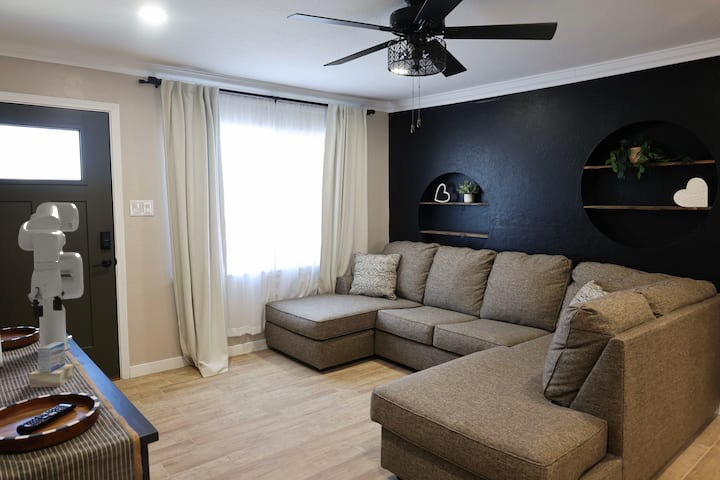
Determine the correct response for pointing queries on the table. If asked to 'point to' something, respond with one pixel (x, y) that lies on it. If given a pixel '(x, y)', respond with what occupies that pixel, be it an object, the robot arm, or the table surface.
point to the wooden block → (52, 377)
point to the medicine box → (51, 357)
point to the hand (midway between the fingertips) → (48, 313)
